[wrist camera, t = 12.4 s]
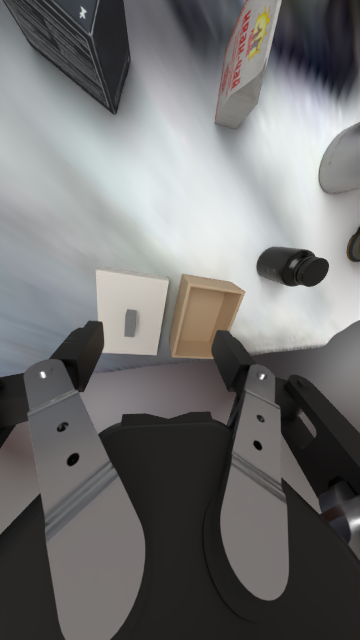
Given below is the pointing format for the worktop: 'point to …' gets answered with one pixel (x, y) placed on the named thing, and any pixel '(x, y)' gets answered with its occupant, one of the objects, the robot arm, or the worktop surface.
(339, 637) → the robot arm
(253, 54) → the printed product carton
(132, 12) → the worktop surface
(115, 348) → the mailer lid
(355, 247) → the apothecary jar
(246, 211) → the worktop surface
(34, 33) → the small box
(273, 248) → the supplement bottle
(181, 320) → the box
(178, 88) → the worktop surface
